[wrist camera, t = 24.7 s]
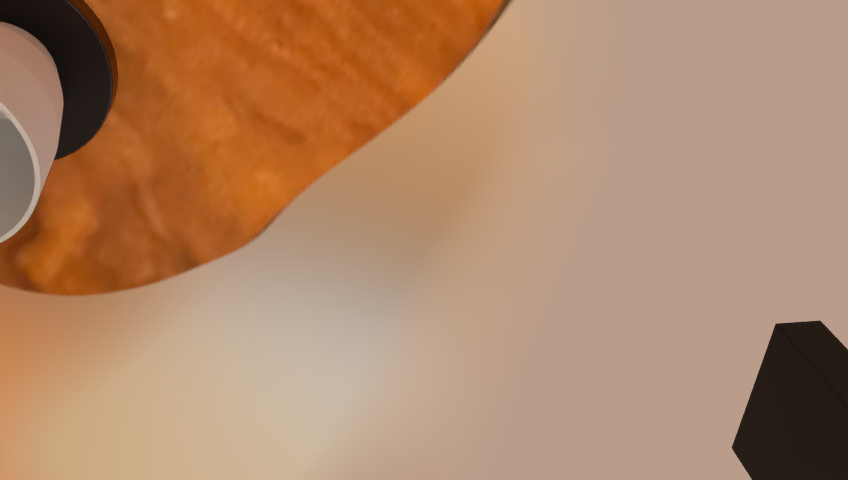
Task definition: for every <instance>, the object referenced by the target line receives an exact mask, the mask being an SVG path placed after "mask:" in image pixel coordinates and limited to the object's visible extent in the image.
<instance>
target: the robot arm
mask: <svg viewBox="0 0 848 480" xmlns="http://www.w3.org/2000/svg"><path fill="white" fill-rule="evenodd" d="M732 449H733V451H734V452H735V454H736V455H737V457H738V459H739V460H740V462H741V463H742V465H743V466H744V468H745V469H746V471H747V472H748V474H749V475H750V477H751V479H752V480H848V349H847V348H846V347H845V346H844V345H843V344H842V343H841V342H840V341H839V340H838V339H837V338H836V337H835V336H834V335H833V334H832V333H831V331H830V330H829V329H828V328H827V327H826V326H825V325H824V324H823V323H822V322H821V321H809V322H794V323H780V324H776V325H775V328H774V330H773V333H772V336H771V339H770V342H769V345H768V348H767V350H766V353H765V356H764V359H763V361H762V364H761V367H760V370H759V373H758V375H757V378H756V381H755V384H754V387H753V390H752V392H751V395H750V398H749V401H748V404H747V406H746V409H745V412H744V415H743V418H742V420H741V423H740V426H739V429H738V432H737V435H736V437H735V440H734V443H733V446H732Z"/></svg>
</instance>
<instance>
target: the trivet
mask: <svg viewBox="0 0 848 480" xmlns="http://www.w3.org/2000/svg"><path fill="white" fill-rule="evenodd" d="M0 22H5V23H8V24H12V25H14V26H17V27H19V28H21V29H23V30H25V31H27V32H28V33H30V34H31V35H33V36H34V37H35V38H36V39H38V40H39V41H40V42H41V43H42V44H43V45H44V46H45V48H46V49H47V50H48V52H49V53H50V55H51V56H52V58H53V60H54V62H55V65H56V68H57V71H58V76H59V80H60V84H61V88H62V93H63V113H62V120H61V127H60V134H59V142H58V148H57V152H56V155H55V158H54V160H56V159H59V158H62V157H65V156H67V155H69V154H71V153H73V152H75V151H77V150H78V149H80V148H81V147H83V146H84V145H85V144H86V143H87V142H89V141H90V140H91V139H92V138H93V137H94V136H95V134H96V133H97V132H98V131H99V129H100V128H101V126H102V125H103V123H104V121H105V119H106V117H107V115H108V113H109V111H110V109H111V107H112V104H113V101H114V99H115V95H116V90H117V80H118V72H117V62H116V57H115V53H114V49H113V47H112V44H111V41H110V39H109V36H108V34H107V33H106V31H105V29H104V27H103V25H102V24H101V22H100V21H99V19H98V18H97V16H96V15H95V13H94V12H93V11H92V10H91V9H90V8H89V6H88V5H87V4H86V3H85V2H84V1H83V0H0Z"/></svg>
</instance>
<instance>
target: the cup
mask: <svg viewBox="0 0 848 480" xmlns="http://www.w3.org/2000/svg"><path fill="white" fill-rule="evenodd" d="M62 113H63V93H62V88H61V84H60V80H59V76H58V71H57V68H56V65H55V62H54V60H53V58H52V56H51V55H50V53H49V52H48V50H47V49H46V48H45V46H44V45H43V44H42V43H41V42H40V41H39V40H38V39H36V38H35V37H34V36H33V35H31V34H30V33H28V32H27V31H25V30H23V29H21V28H19V27H17V26H14V25H12V24H8V23H5V22H0V243H1V242H3V241H5V240H6V239H8V238H9V237H11V236H12V235H14V234H15V233H16V232H17V231H18V230H19V229H20V228H21V227H22V226H23V225H24V224H25V223H26V222H27V220H28V219H29V217H30V216H31V214H32V212H33V210H34V208H35V206H36V204H37V201H38V199H39V196H40V193H41V191H42V188H43V186H44V183H45V181H46V178H47V176H48V173H49V171H50V168H51V165H52V163H53V160H54V158H55V155H56V152H57V148H58V142H59V134H60V127H61V120H62Z"/></svg>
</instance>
